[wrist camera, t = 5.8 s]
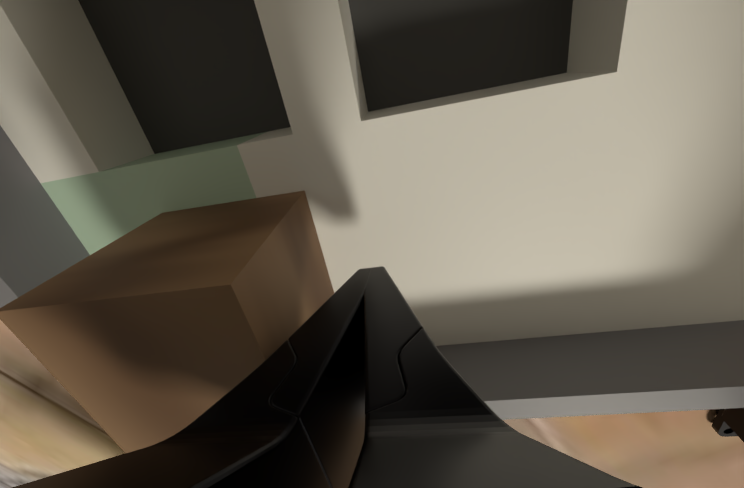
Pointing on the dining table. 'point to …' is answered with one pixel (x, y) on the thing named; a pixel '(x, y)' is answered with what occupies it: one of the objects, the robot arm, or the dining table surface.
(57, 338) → the walnut block
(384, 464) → the robot arm
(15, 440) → the dining table surface
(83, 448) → the dining table surface
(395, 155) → the trap box
